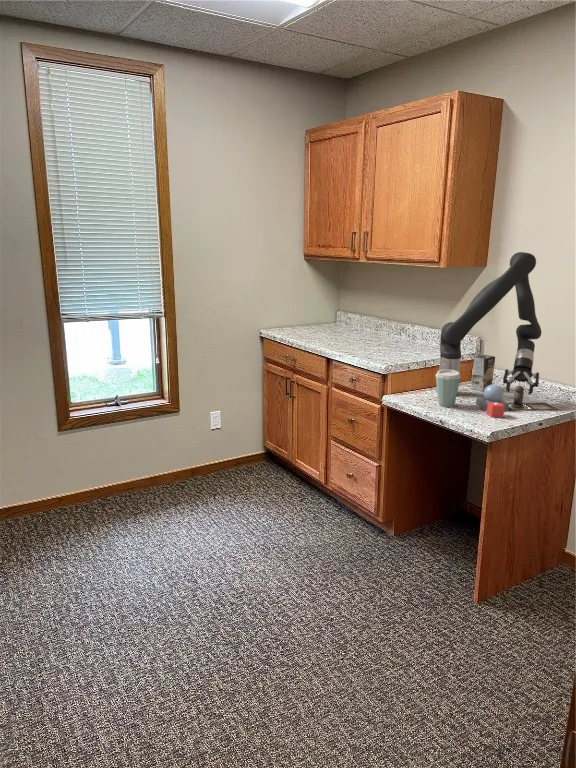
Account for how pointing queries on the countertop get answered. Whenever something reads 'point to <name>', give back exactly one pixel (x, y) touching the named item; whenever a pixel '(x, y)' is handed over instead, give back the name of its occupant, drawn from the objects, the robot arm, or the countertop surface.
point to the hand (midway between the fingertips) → (518, 392)
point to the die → (495, 409)
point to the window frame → (532, 407)
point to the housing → (483, 403)
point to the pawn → (518, 397)
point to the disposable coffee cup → (447, 387)
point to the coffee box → (482, 372)
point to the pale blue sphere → (493, 393)
